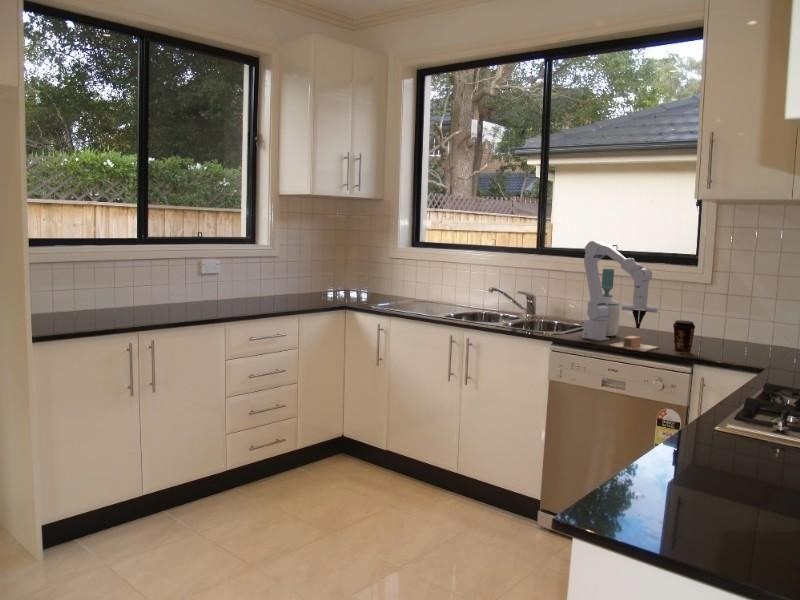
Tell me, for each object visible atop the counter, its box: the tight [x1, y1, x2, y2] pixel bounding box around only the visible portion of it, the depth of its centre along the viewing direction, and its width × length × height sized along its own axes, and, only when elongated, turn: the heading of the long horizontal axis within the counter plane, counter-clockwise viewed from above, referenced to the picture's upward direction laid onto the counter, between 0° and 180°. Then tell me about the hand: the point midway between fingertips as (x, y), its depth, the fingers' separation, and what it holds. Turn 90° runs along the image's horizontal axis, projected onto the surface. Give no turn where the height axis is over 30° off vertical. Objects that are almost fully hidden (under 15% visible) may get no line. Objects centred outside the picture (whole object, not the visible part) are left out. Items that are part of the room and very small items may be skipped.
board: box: [609, 341, 661, 353], centre depth 293 cm, size 16×14×1 cm
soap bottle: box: [601, 268, 620, 337], centre depth 320 cm, size 12×12×31 cm
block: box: [622, 335, 642, 348], centre depth 291 cm, size 4×4×8 cm
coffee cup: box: [672, 319, 696, 355], centre depth 283 cm, size 9×8×13 cm
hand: (637, 328), depth 293 cm, fingers closed
